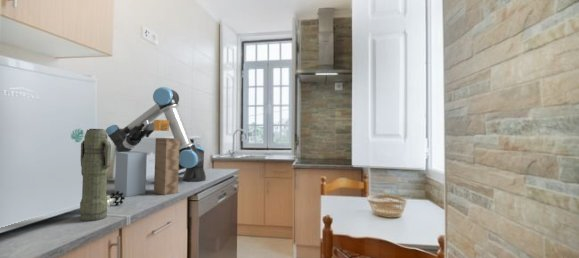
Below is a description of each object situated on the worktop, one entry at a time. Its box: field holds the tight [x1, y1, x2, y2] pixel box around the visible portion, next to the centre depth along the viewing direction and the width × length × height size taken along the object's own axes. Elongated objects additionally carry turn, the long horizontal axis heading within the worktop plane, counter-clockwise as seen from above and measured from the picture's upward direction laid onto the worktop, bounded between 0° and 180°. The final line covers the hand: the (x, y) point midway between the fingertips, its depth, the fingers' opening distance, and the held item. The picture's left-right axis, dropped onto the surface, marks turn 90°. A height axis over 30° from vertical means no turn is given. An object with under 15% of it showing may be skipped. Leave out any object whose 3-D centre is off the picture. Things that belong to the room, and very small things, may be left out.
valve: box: [106, 191, 126, 213], centre depth 125 cm, size 7×7×12 cm
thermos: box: [79, 128, 112, 222], centre depth 112 cm, size 9×12×35 cm
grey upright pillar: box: [114, 150, 148, 198], centre depth 154 cm, size 10×12×22 cm
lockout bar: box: [141, 119, 170, 132], centre depth 165 cm, size 6×20×6 cm, turn 57°
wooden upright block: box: [153, 137, 180, 196], centre depth 158 cm, size 8×10×30 cm
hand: (151, 122), depth 166 cm, fingers closed on lockout bar, 4 cm apart
